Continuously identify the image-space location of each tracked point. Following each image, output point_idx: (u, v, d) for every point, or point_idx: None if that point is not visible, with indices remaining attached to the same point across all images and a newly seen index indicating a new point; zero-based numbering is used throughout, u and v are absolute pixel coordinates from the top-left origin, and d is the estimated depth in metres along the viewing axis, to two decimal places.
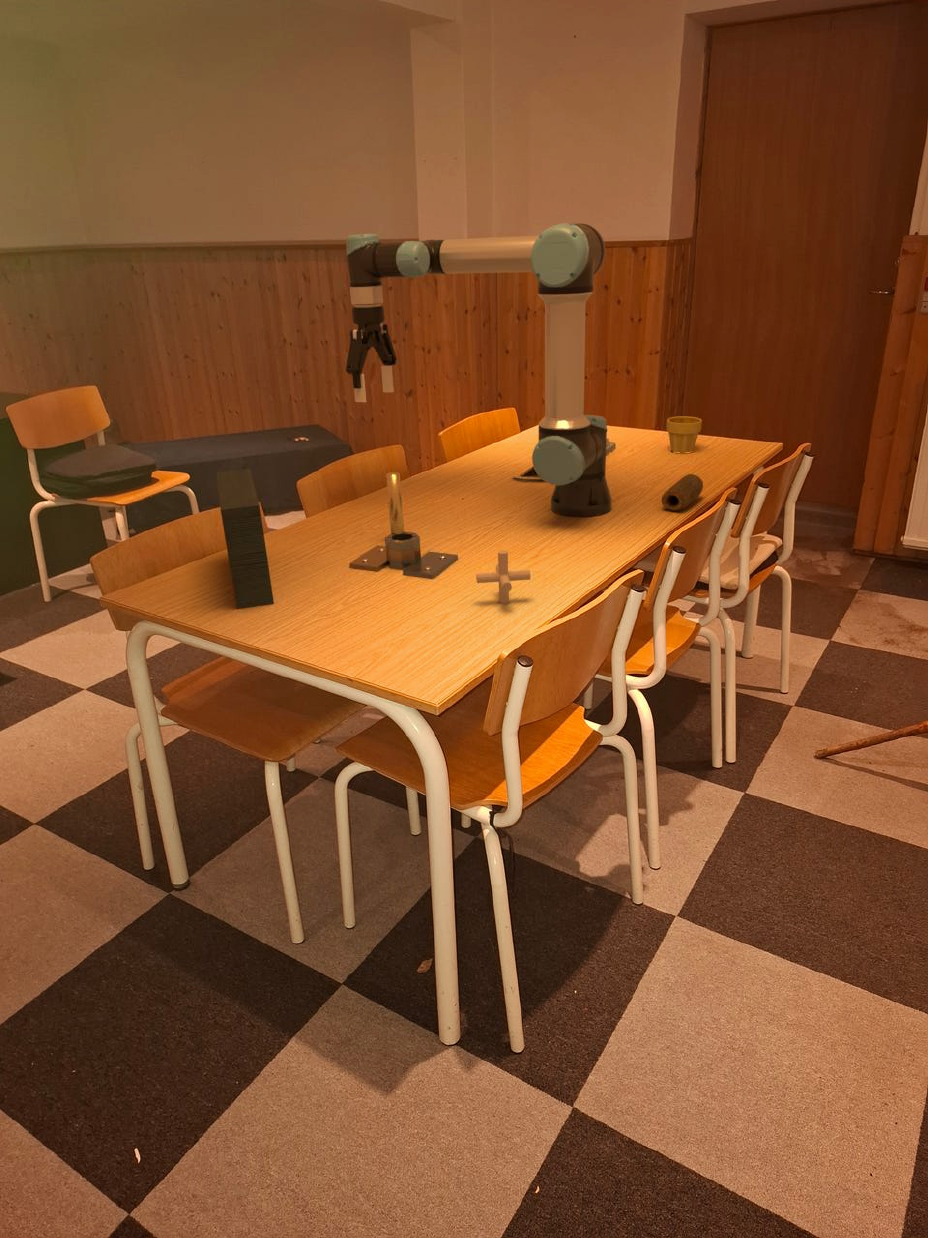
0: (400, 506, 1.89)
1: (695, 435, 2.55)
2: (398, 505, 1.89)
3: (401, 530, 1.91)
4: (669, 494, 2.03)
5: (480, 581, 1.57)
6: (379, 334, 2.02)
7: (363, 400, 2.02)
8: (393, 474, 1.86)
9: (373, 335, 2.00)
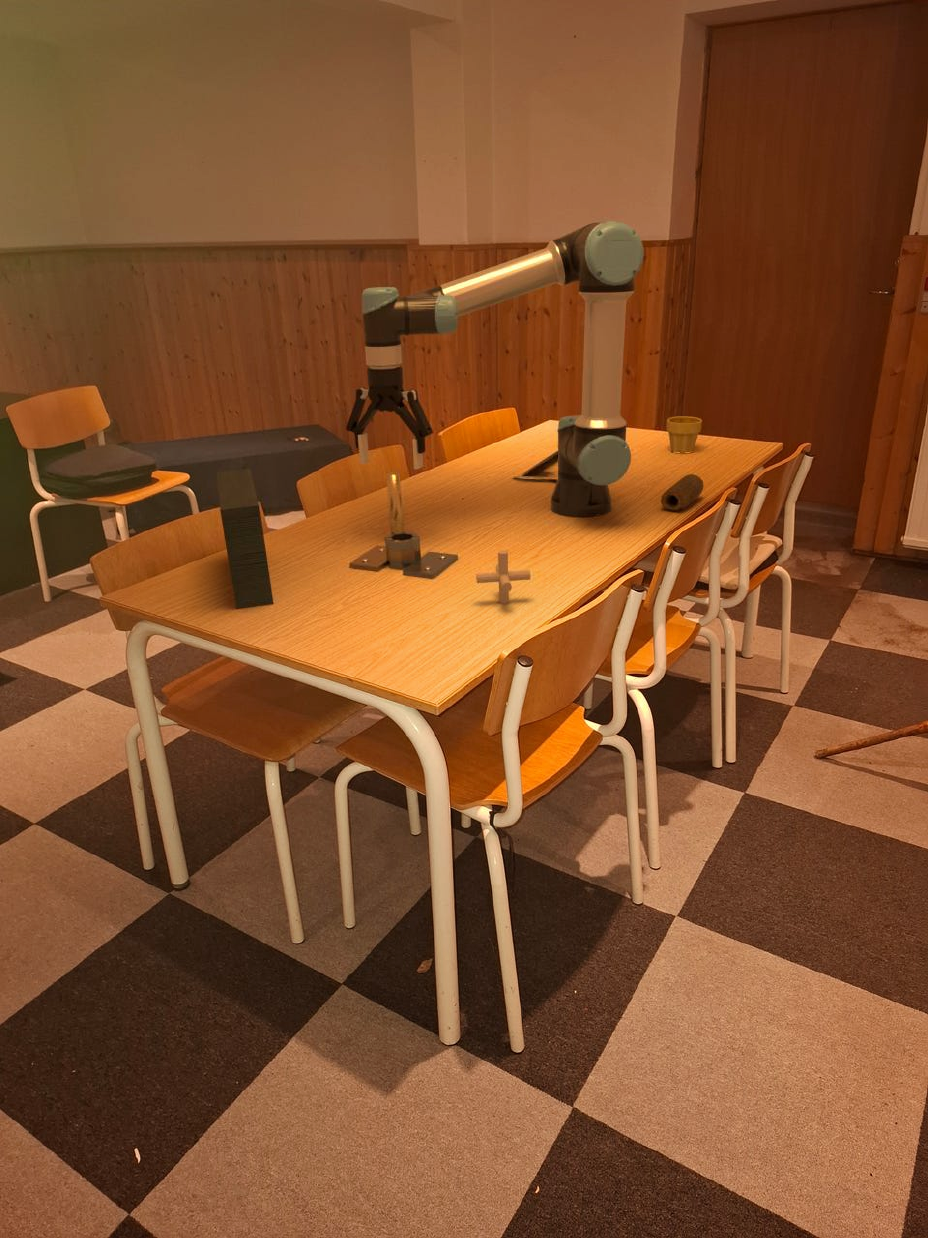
0: (400, 506, 1.89)
1: (695, 435, 2.55)
2: (398, 505, 1.89)
3: (401, 530, 1.91)
4: (668, 494, 2.03)
5: (480, 581, 1.57)
6: (387, 400, 1.78)
7: None
8: (393, 474, 1.86)
9: (375, 399, 1.79)
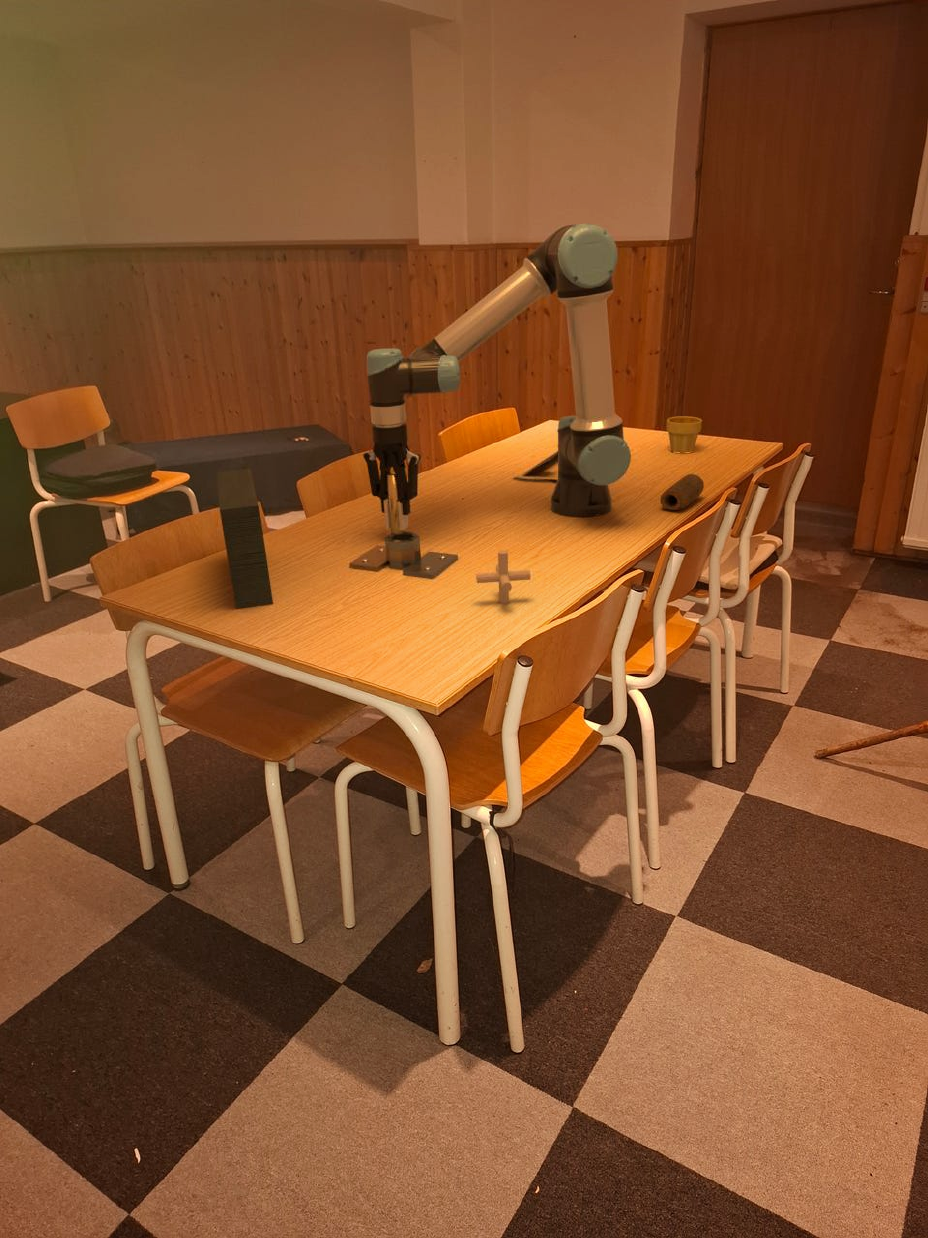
0: None
1: (695, 435, 2.55)
2: None
3: (401, 530, 1.91)
4: (668, 494, 2.03)
5: (480, 581, 1.57)
6: (391, 456, 1.83)
7: None
8: (393, 474, 1.86)
9: (381, 456, 1.84)
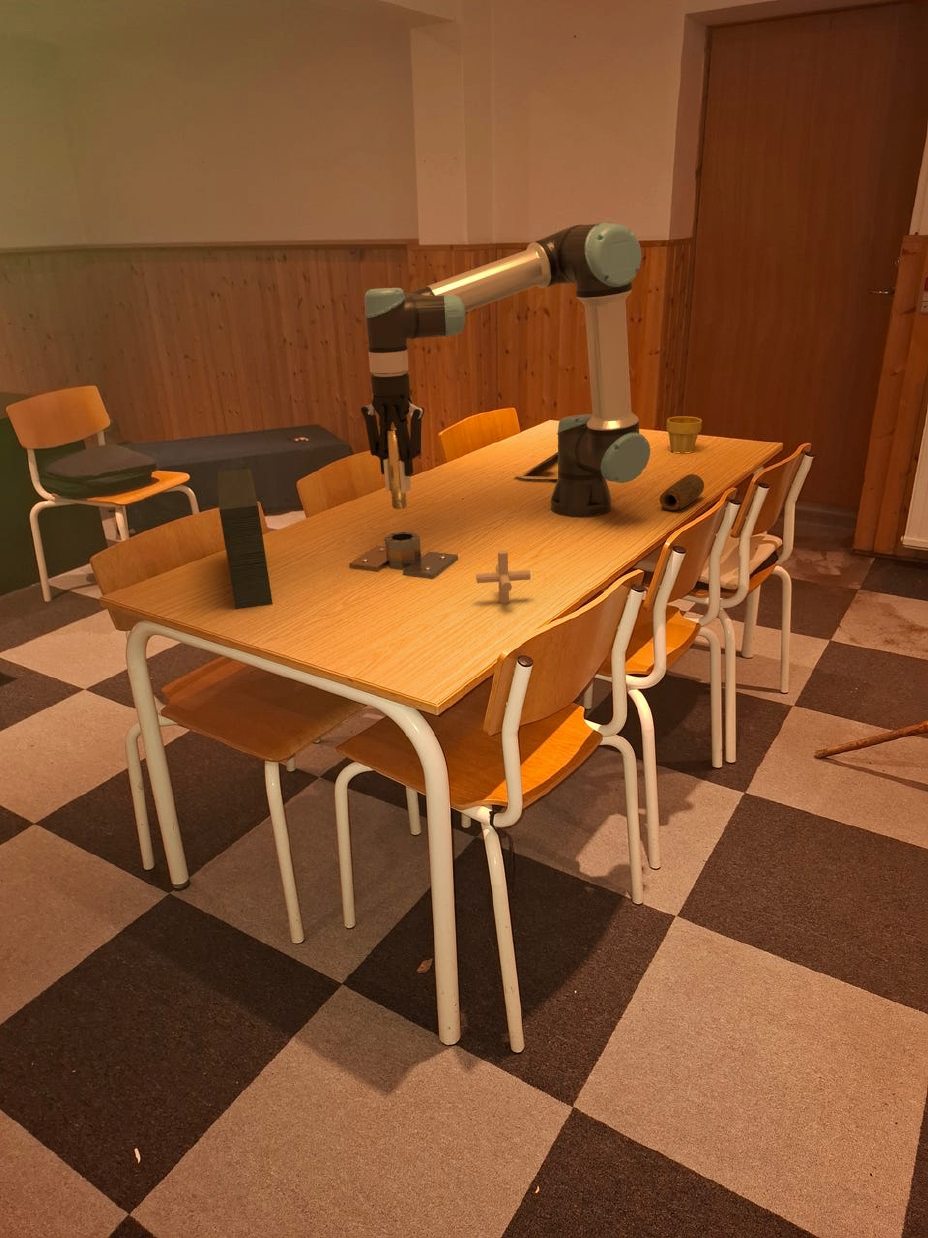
0: None
1: (695, 435, 2.55)
2: None
3: (403, 493, 1.73)
4: (667, 494, 2.04)
5: (480, 581, 1.57)
6: (392, 409, 1.65)
7: None
8: (394, 430, 1.68)
9: (381, 409, 1.66)
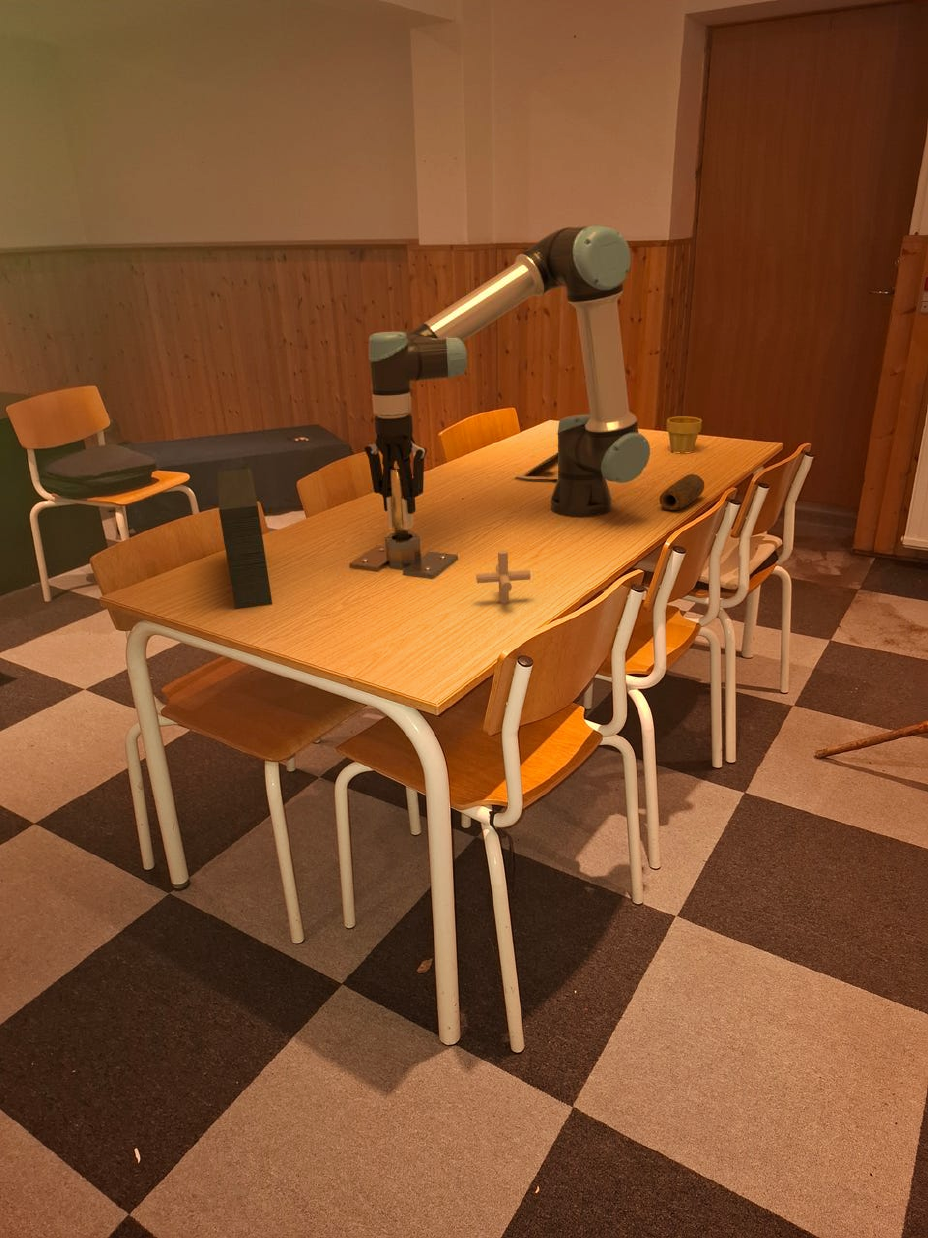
0: None
1: (695, 435, 2.55)
2: None
3: (405, 530, 1.76)
4: (666, 493, 2.04)
5: (480, 581, 1.57)
6: (395, 449, 1.68)
7: None
8: (397, 469, 1.71)
9: (384, 449, 1.69)
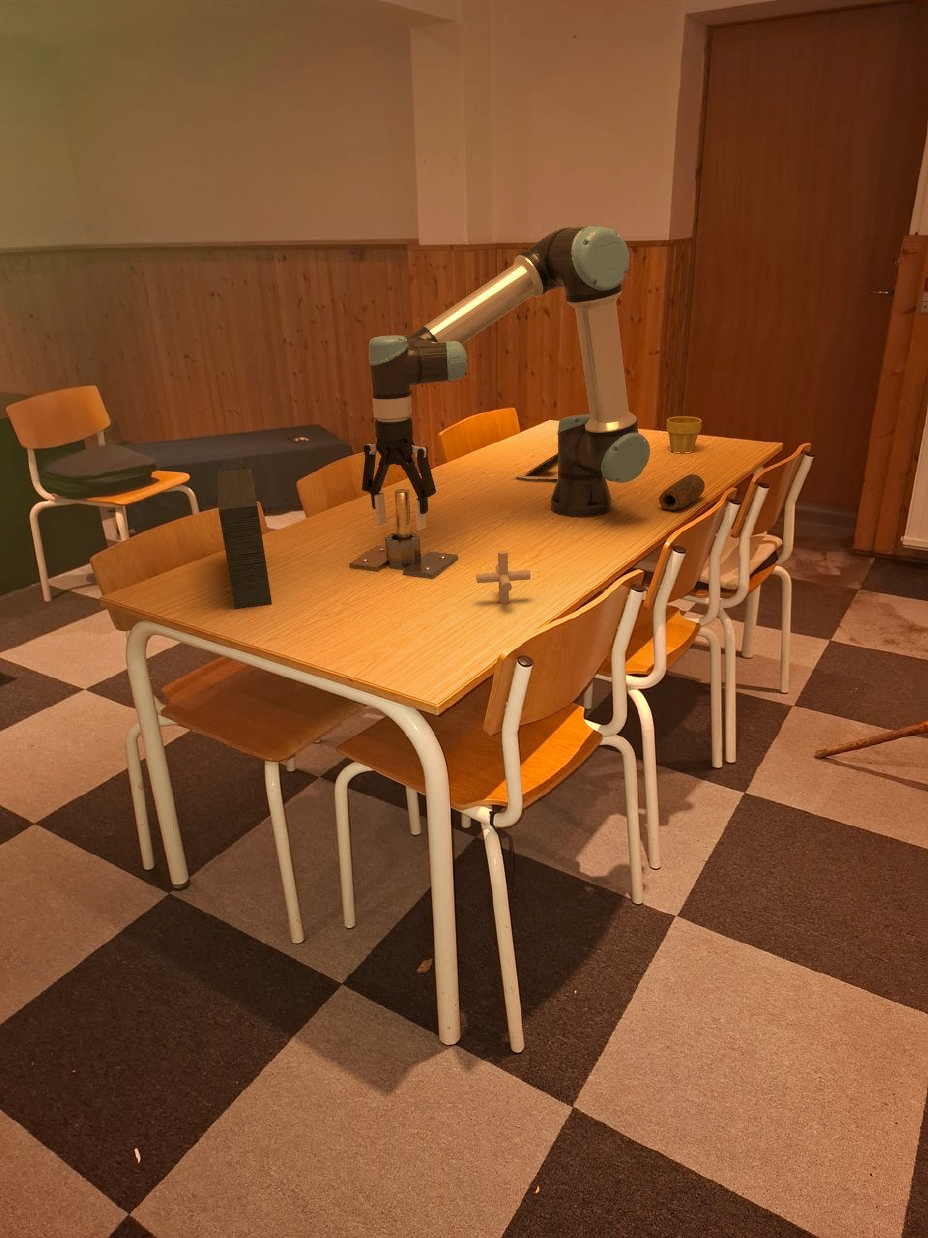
0: (408, 526, 1.76)
1: (695, 435, 2.55)
2: (406, 525, 1.75)
3: None
4: (666, 493, 2.04)
5: (480, 581, 1.57)
6: (396, 453, 1.68)
7: None
8: (402, 492, 1.73)
9: (384, 452, 1.69)
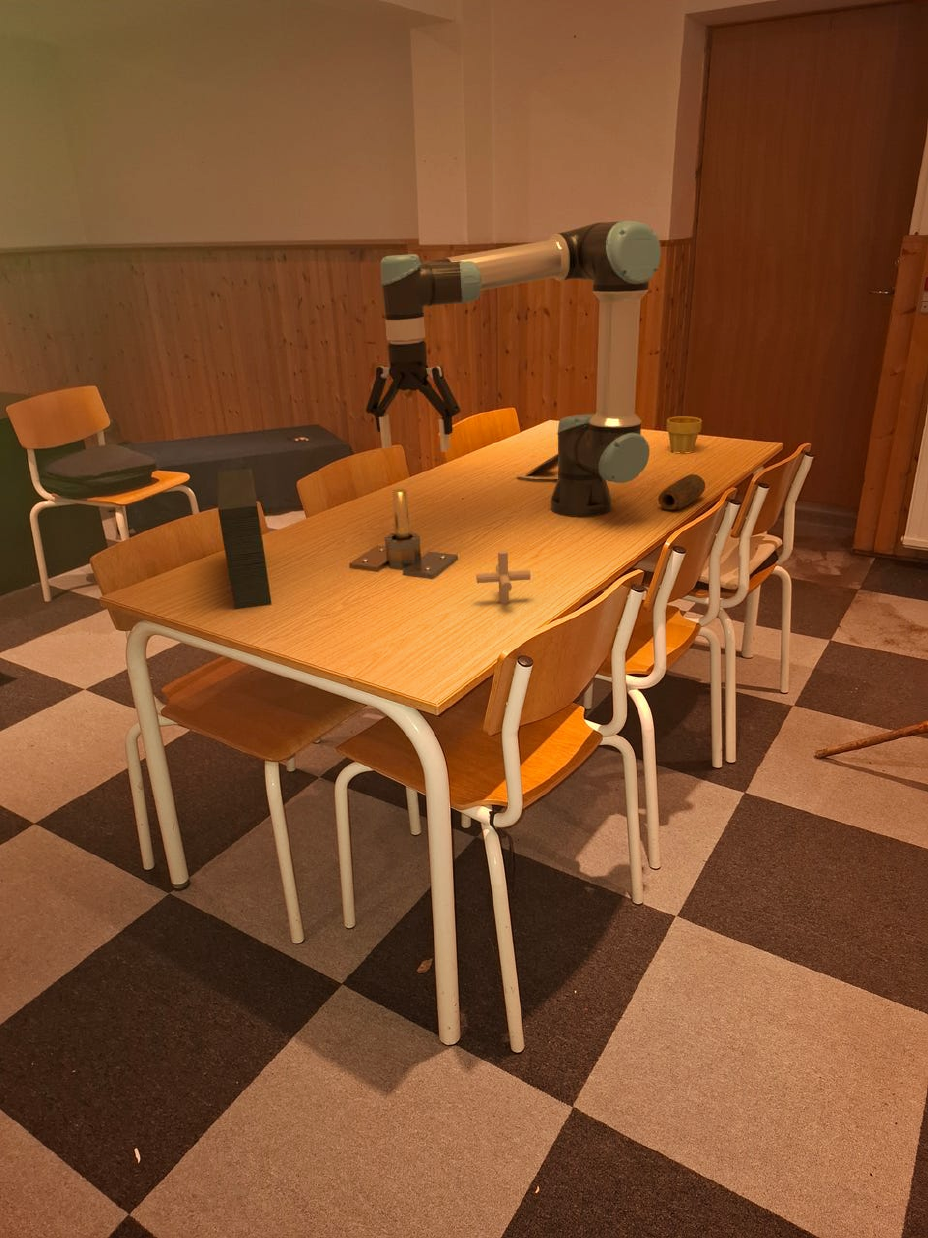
0: (407, 526, 1.76)
1: (695, 435, 2.55)
2: (405, 525, 1.76)
3: None
4: (665, 493, 2.04)
5: (480, 581, 1.57)
6: (410, 377, 1.65)
7: None
8: (400, 491, 1.73)
9: (397, 377, 1.66)
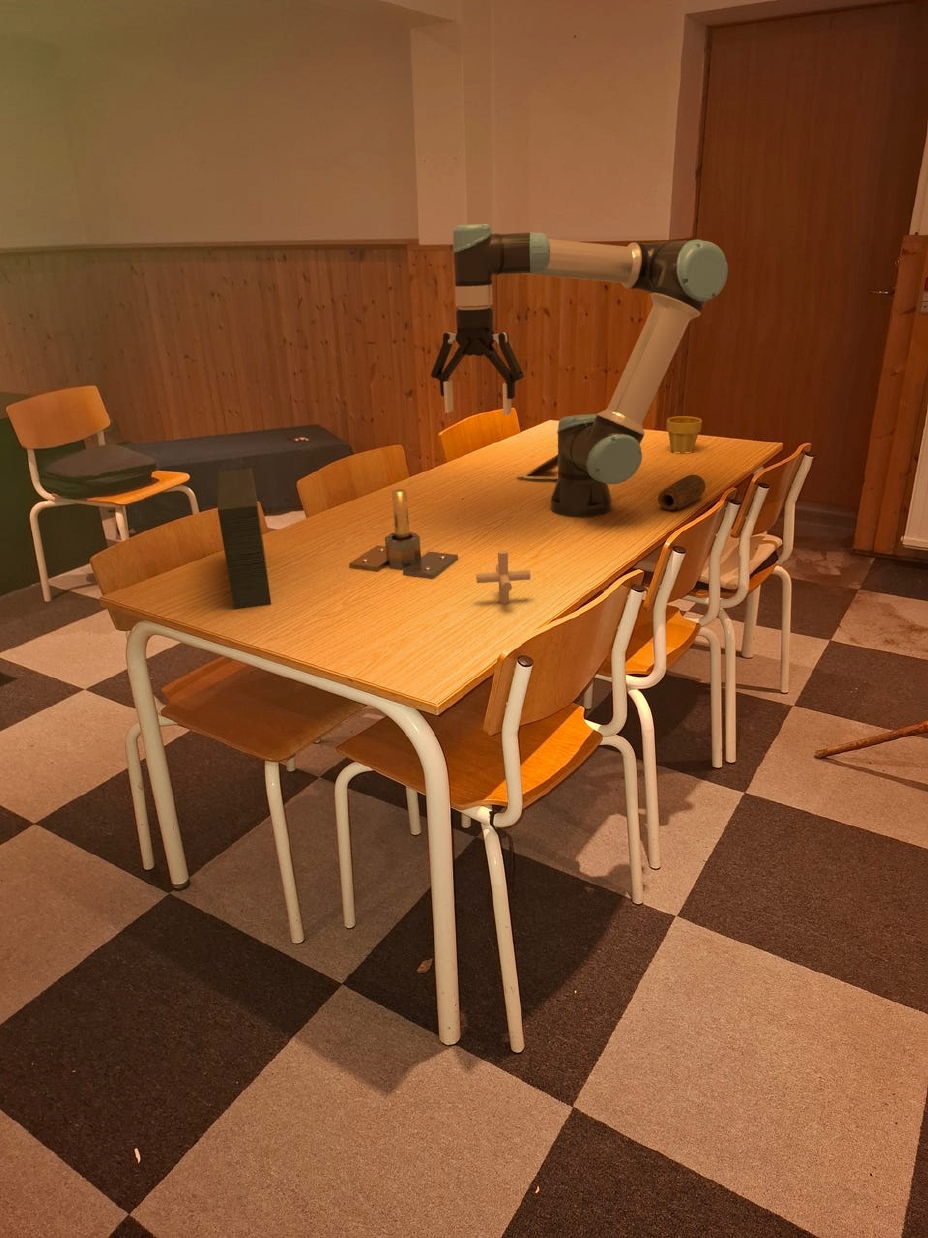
0: (407, 526, 1.76)
1: (695, 435, 2.55)
2: (405, 525, 1.76)
3: None
4: (664, 493, 2.04)
5: (480, 581, 1.57)
6: (477, 343, 1.72)
7: None
8: (399, 492, 1.73)
9: (464, 342, 1.73)
